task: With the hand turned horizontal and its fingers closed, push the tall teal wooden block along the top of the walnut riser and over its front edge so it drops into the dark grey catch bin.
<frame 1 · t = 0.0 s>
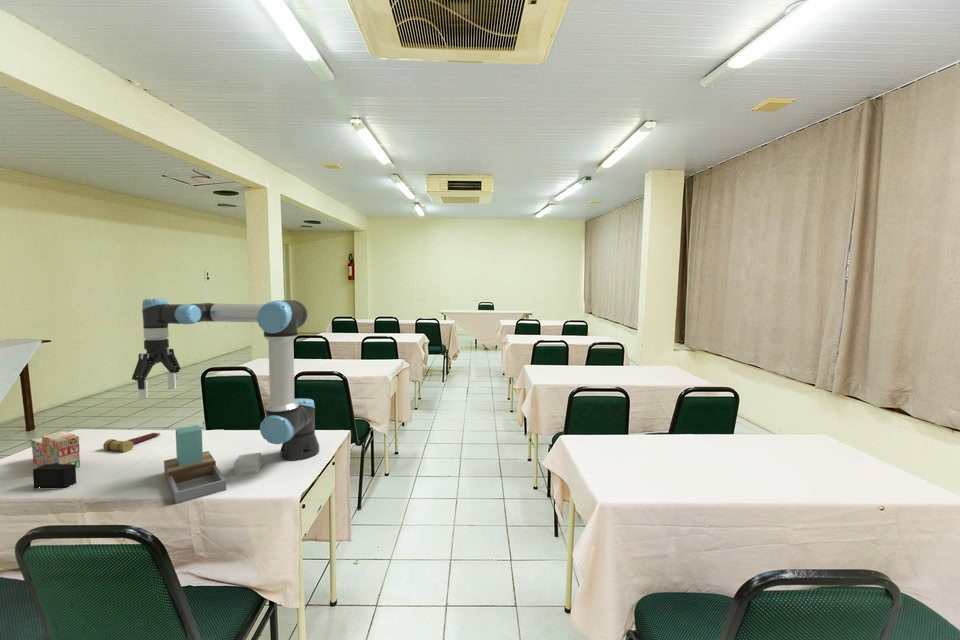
hand: (158, 393, 160), 28 cm above the table, tool pointing down, fingers open, 13 cm apart
walnut riser: (190, 474, 153), on the table
catch bin: (197, 488, 142), on the table
gavel: (137, 444, 182), on the table
stack of blocks: (56, 465, 159), on the table
teal block: (189, 461, 152), point 5 cm above the table, touching walnut riser
digital camera: (57, 485, 143), on the table
small box: (248, 470, 157), on the table
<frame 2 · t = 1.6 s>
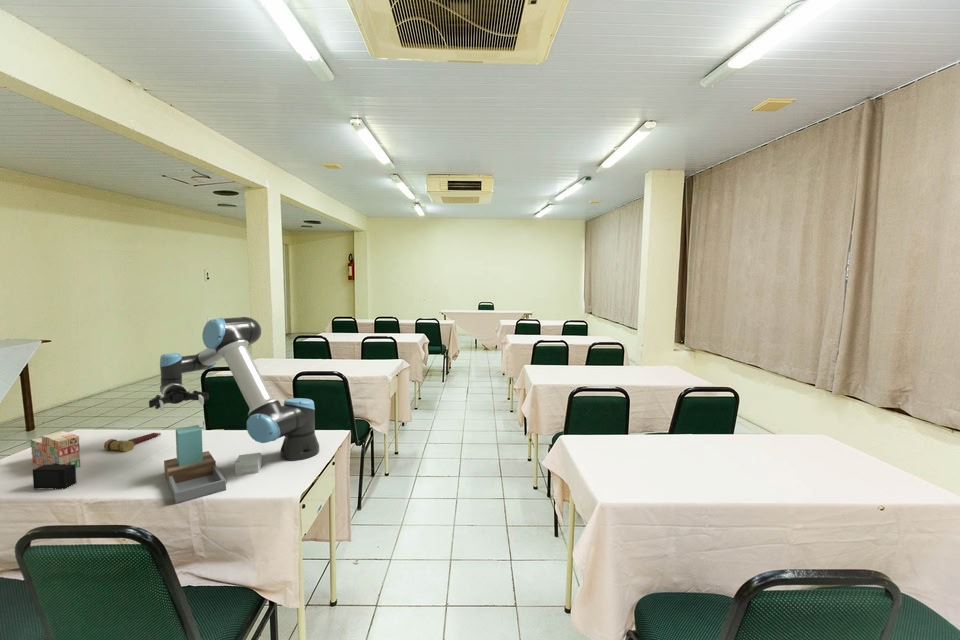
hand: (183, 404, 159), 24 cm above the table, tool horizontal, fingers open, 12 cm apart
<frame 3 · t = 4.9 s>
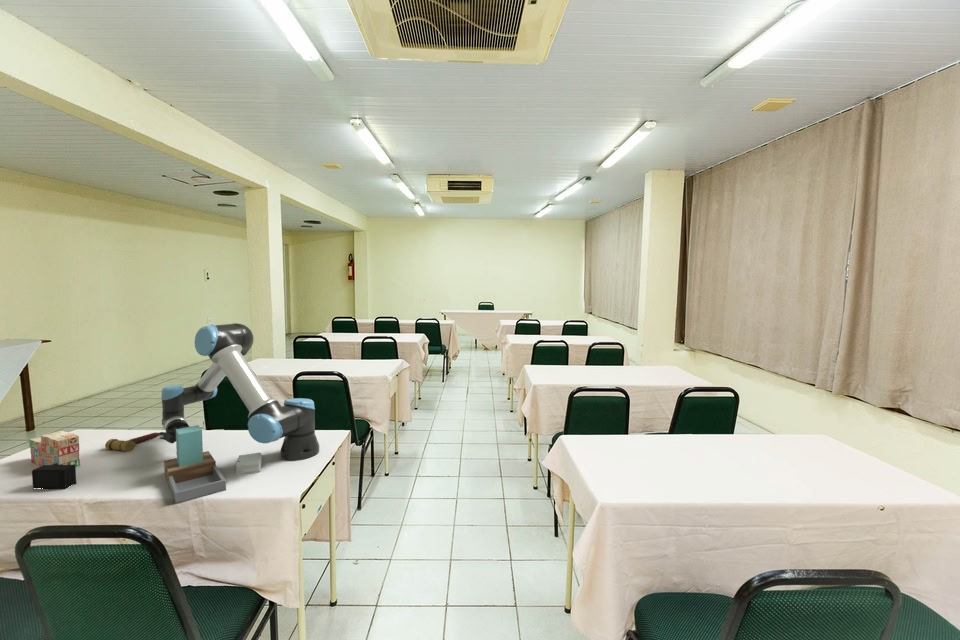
hand: (185, 443, 154), 11 cm above the table, tool horizontal, fingers closed
teal block: (190, 461, 152), point 5 cm above the table, touching gripper
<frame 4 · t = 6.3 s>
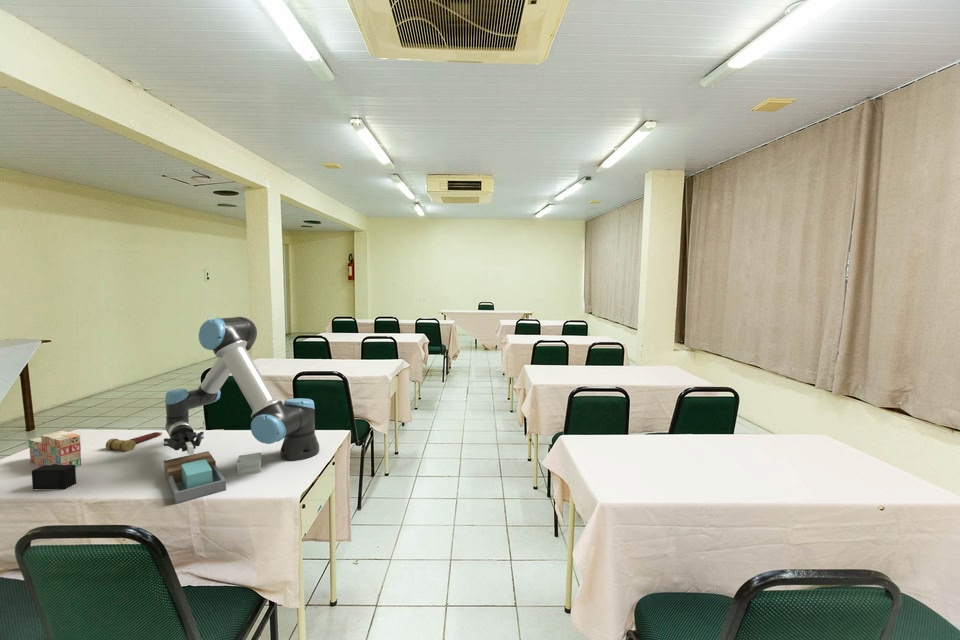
hand: (191, 450, 147), 11 cm above the table, tool horizontal, fingers closed
teal block: (193, 471, 146), point 4 cm above the table, tilted 90°, touching catch bin
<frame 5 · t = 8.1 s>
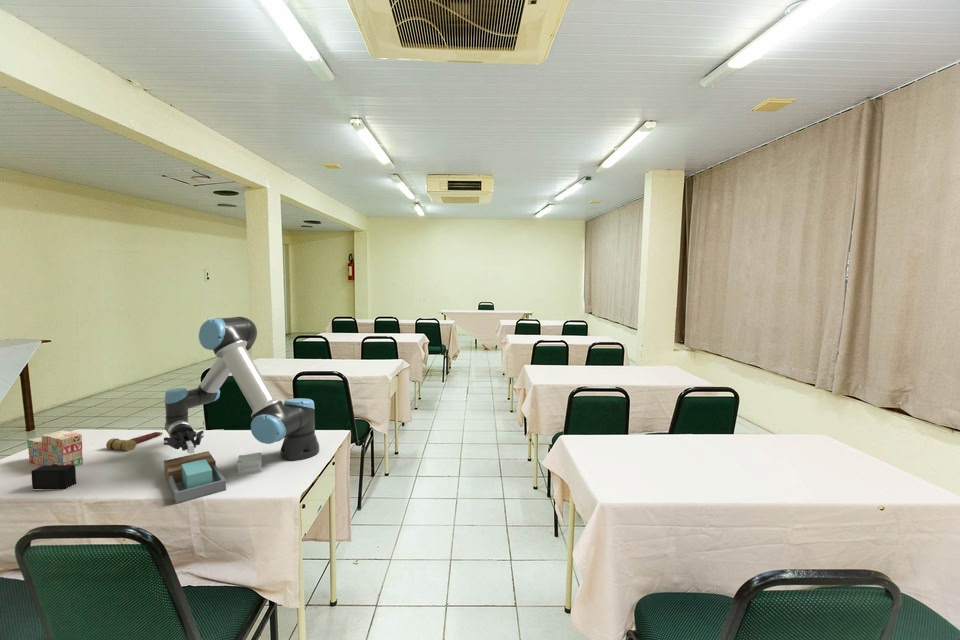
hand: (191, 449, 147), 11 cm above the table, tool horizontal, fingers closed
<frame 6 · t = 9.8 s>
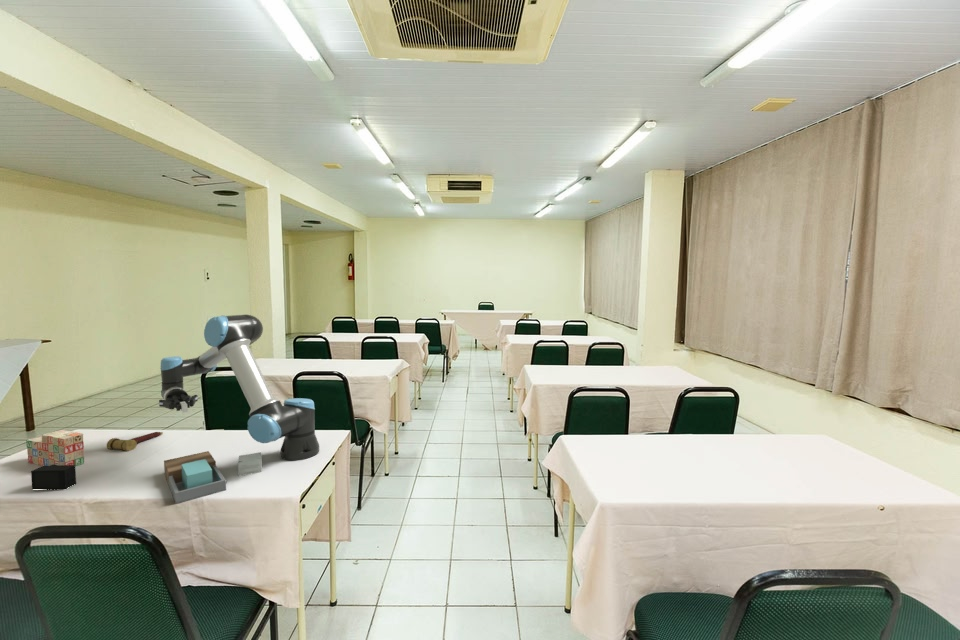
hand: (185, 408, 154), 24 cm above the table, tool horizontal, fingers closed
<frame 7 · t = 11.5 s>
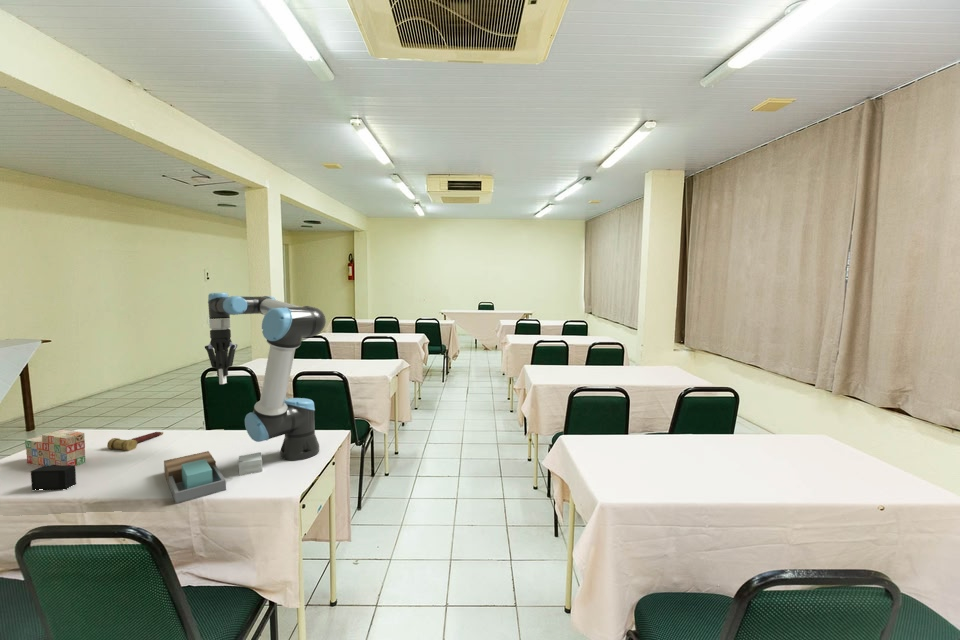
hand: (223, 383, 177), 28 cm above the table, tool pointing down, fingers closed
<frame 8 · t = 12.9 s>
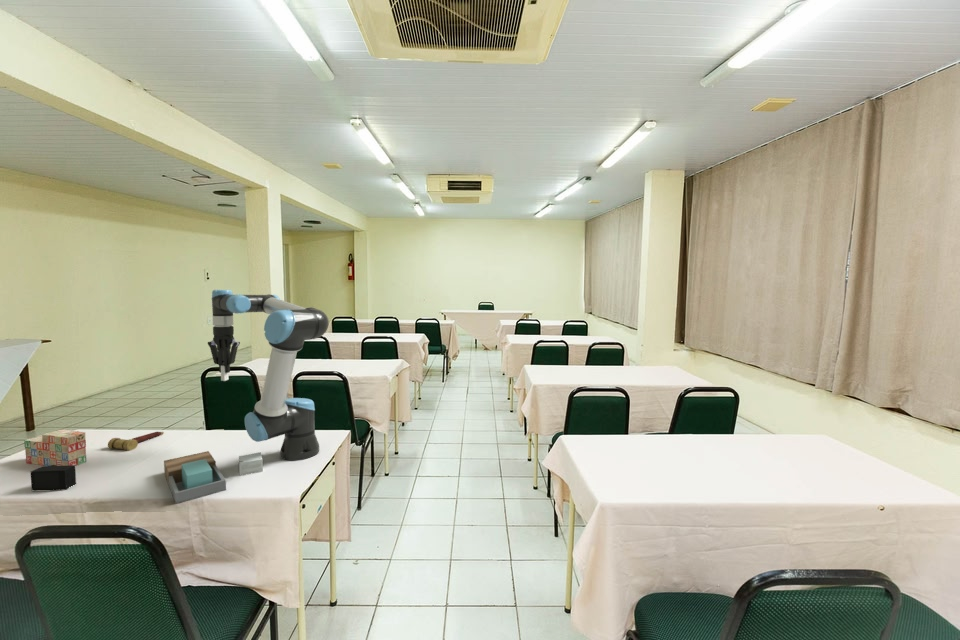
hand: (224, 380, 178), 29 cm above the table, tool pointing down, fingers closed
at the end: teal block touching catch bin; teal block 6.3 cm from the catch bin (horizontally) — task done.
